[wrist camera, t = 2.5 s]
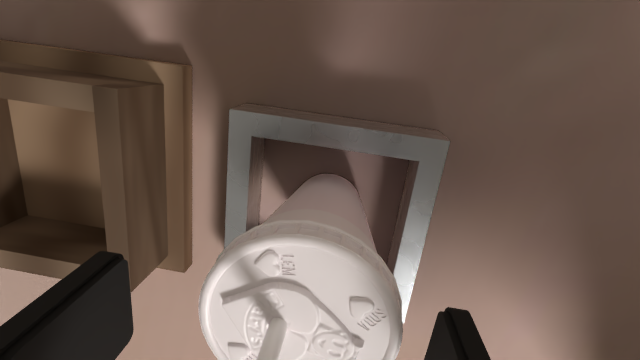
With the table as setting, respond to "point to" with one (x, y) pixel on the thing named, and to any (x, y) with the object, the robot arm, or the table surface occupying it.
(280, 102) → the table surface
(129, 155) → the socket
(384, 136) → the holder
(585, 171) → the table surface
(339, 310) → the smoothie
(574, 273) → the table surface
